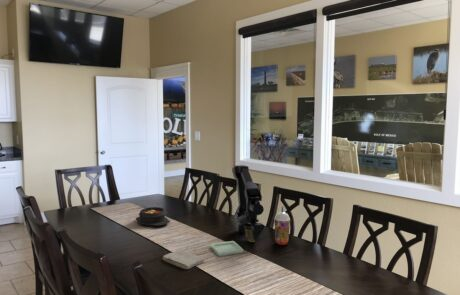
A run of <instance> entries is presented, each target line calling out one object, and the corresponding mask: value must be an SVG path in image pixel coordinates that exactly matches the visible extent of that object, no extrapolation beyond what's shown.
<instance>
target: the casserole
mask: <svg viewBox="0 0 460 295" xmlns="http://www.w3.org/2000/svg"><path fill="white" fill-rule="evenodd" d="M166 214H167V211H166V210H165V209H164V208H163V207H155V206H153V207H152V206H151V207H145V208H142V209H141V210H140V211H139V213H138V217H136V218H135V220H136V222H137V223H138V224H140V225H145V226H148V227H149V226H151V227H152V226H155V227H159V226H163V225H164V226H165V225H168V224H169V223H171V221H170V219H168V218H167V217H166Z"/></svg>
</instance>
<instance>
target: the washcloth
mask: <svg viewBox="0 0 460 295" xmlns="http://www.w3.org/2000/svg"><path fill="white" fill-rule="evenodd" d="M162 260H163V261H164V262H166V263H169V264H171V265H174V266H176V267H178V268H182V269H184V270H190V269H192V268H193V267H196V266H198V265H200V264H202V263H203V264H204V262H205V258H204V257H202V256H200V255H196V254H194V253H191V252H188V251H186V250H183V249H177V250H176V251H174V252H173V251H172V252H169V253H167V254H164V255H163V256H162Z"/></svg>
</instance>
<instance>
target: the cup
mask: <svg viewBox="0 0 460 295" xmlns="http://www.w3.org/2000/svg"><path fill="white" fill-rule="evenodd" d="M244 234H245V237H246V239H247V241H248V242H249V243H255V242H256V241H254V234H253V231H252V230H251V227H250V226H249V227H248V226H247V227H245V233H244Z"/></svg>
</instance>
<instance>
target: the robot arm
mask: <svg viewBox="0 0 460 295" xmlns="http://www.w3.org/2000/svg"><path fill="white" fill-rule="evenodd" d="M249 170H250V169H249V166H247V165H245V164H243V165H240V164H239V165H234V166H233V167H232V168H231V173H232V176H233V179H235V181H236V189H237V201H238V206H237V208H236V212H235V214H234V216H233V217H234V222H235V223H236V224H237V229H235V231H236V232H237V233H238V234H240V235H241V234H246V233H245V227H247V226H248V227H249V226H250V227H251V230H252V231H253V234H254V241H255V242H257V241H258V239H259V237H260V235H261V233H262V232H263V231H264V230H265V227H266V226H265V225H264V224H263V223H262V222H259V221H260V219H258V216H260V215H262V214H263V213H264V210H265V209H264V206H263V205H262V204H261V201H263V200H262V199H263V196H262V193H261V190H260V188H259V187H258V185H257V184H256V183H254V181H253V178H252V176H251V173H250V171H249Z"/></svg>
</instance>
